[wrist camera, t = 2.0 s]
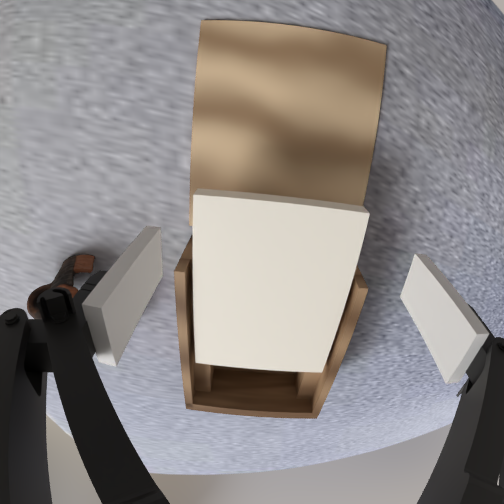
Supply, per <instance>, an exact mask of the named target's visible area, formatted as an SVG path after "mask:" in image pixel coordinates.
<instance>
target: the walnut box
mask: <svg viewBox="0 0 504 504" xmlns="http://www.w3.org/2000/svg"><path fill="white" fill-rule="evenodd" d="M174 279H175V297H176V313H177V326H178V338H179V350H180V360H181V370H182V379H183V388H184V396H185V404H186V409H191V410H198V411H205V412H214V413H222V414H232V415H243V416H256V417H273V418H317V417H318V415H319V413H320V411H321V408H322V406H323V404H324V402H325V400H326V398H327V395H328V393H329V391H330V389H331V386H332V384H333V382H334V379H335V377H336V375H337V372H338V370H339V367H340V365H341V363H342V360H343V358H344V355H345V353H346V350H347V347H348V345H349V342H350V340H351V337H352V334H353V332H354V329H355V326H356V324H357V321H358V318H359V315H360V312H361V310H362V307H363V304H364V301H365V298H366V295H367V292H368V287H367V285H366V282H365V280H364V278H363V276H362V274H361V272H360V270H359V268H358V266H356V270H355V273H354V277H353V280H352V284H351V287H350V291H349V294H348V297H347V301H346V304H345V307H344V310H343V313H342V317H341V320H340V323H339V326H338V329H337V332H336V335H335V338H334V341H333V344H332V346H331V349H330V352H329V355H328V358H327V361H326V363H325V366H324V369H323V371H322V373H320V372H292V371H274V370H260V369H248V368H237V367H227V366H218V365H209V364H201V363H196V362H195V341H194V313H193V235H192V236H191V238H190V240H189V242H188V244H187V246H186V248H185V250H184V252H183V254H182V256H181V258H180V260H179V262H178V264H177V266H176V268H175V270H174Z"/></svg>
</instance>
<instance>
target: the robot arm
mask: <svg viewBox="0 0 504 504" xmlns="http://www.w3.org/2000/svg"><path fill="white" fill-rule="evenodd" d="M162 277H163V267H162V248H161V227H151V226H146V227H145V228H144V229H143V230H142V232H141V233H140V234H139V235H138V236H137V237H136V238H135V240H134V241H133V242H132V243H131V244H130V245H129V247H128V248H127V249H126V250H125V251H124V252H123V254H122V255H121V256H120V257H119V258H118V260H117V261H116V262H115V263H114V264H113V266H112V267H111V268H110V269H109V270H108V271H101V270H100V271H98V272H97V273H95V274H93V275H92V276H91V277H90V278H89V279H88V280H87V281H86V282H85V284H84V285H83V286H82V287H81V289H80V290H79V291H78V292H77V293H76V294H75V296H74V297H73V298H72V294H71V292H70V291H69V290H68V289H66V288H63V287H55V288H51V289H48V290H45V291H44V292H43V293H41V294H40V295H39V297H38V298H37V305H38V309H39V311H40V314H41V317H42V319H28V317H27V314H26V312H25V311H24V310H22V309H20V308H13V309H9V310H7V311H5V312H4V313H3V314H2V315H0V504H52V498H51V491H50V482H49V473H48V462H47V446H46V445H47V444H46V389H47V372H53V373H54V377H55V380H56V384H57V388H58V392H59V395H60V399H61V402H62V405H63V408H64V412H65V415H66V418H67V421H68V424H69V427H70V430H71V432H72V435H73V438H74V441H75V443H76V446H77V449H78V451H79V454H80V456H81V459H82V461H83V463H84V466H85V468H86V470H87V473H88V475H89V477H90V479H91V481H92V484H93V486H94V488H95V490H96V492H97V494H98V496H99V498H100V500H101V502H102V504H170V503H169V502H168V500H167V499H166V497H165V496H164V494H163V493H162V492H161V490H160V489H159V488H158V486H157V485H156V483H155V482H154V480H153V479H152V477H151V476H150V474H149V472H148V471H147V469H146V467H145V466H144V464H143V462H142V461H141V459H140V457H139V455H138V454H137V452H136V450H135V448H134V447H133V445H132V443H131V441H130V439H129V437H128V435H127V434H126V432H125V430H124V428H123V426H122V424H121V422H120V420H119V418H118V416H117V414H116V412H115V410H114V408H113V405H112V403H111V401H110V399H109V397H108V395H107V392H106V390H105V388H104V386H103V383H102V381H101V379H100V376H99V374H98V371H97V369H96V366H95V364H94V361H93V359H92V357H93V355H94V353H95V352H96V355H97V358H98V361H99V362H100V363H104V364H108V365H112V366H116V367H117V365H118V362H119V360H120V358H121V356H122V354H123V352H124V350H125V348H126V346H127V344H128V342H129V340H130V338H131V336H132V334H133V332H134V330H135V328H136V326H137V324H138V322H139V320H140V318H141V316H142V314H143V312H144V310H145V308H146V307H147V305H148V303H149V301H150V299H151V297H152V295H153V293H154V291H155V289H156V288H157V286H158V284H159V282H160V280H161V278H162ZM400 298H401V299H402V301H403V303H404V305H405V306H406V308H407V310H408V312H409V313H410V315H411V317H412V319H413V321H414V322H415V324H416V326H417V328H418V330H419V332H420V333H421V335H422V337H423V339H424V341H425V343H426V345H427V347H428V349H429V351H430V353H431V354H432V356H433V358H434V360H435V362H436V364H437V366H438V368H439V370H440V373H441V375H442V377H443V379H444V381H445V383H446V384H451V383H458V382H459V381H460V380H461V378H462V377H463V375H464V374H465V373H467V375H468V377H469V378H468V380H467V381H466V383H465V384H464V385H463V387H462V388H461V390H460V391H459V392H458V394H457V395H456V396H457V397H458V396H459V395H460V394H462V395H461V398H460V402H459V405H458V408H457V411H456V414H455V417H454V420H453V423H452V426H451V429H450V431H449V434H448V437H447V439H446V442H445V444H444V447H443V449H442V452H441V454H440V457H439V459H438V461H437V464H436V466H435V468H434V470H433V473H432V474H431V477H430V479H429V481H428V483H427V485H426V487H425V489H424V491H423V493H422V495H421V497H420V499H419V500H418V502H417V504H504V338H501V337H496V338H495V337H494V336H493V334H492V333H491V332H490V330H489V329H488V327H487V326H486V325H485V323H484V322H483V321H482V319H481V318H480V317H479V316H478V314H477V313H476V311H475V310H474V309H473V308H472V307H471V306H470V305H469V304H467V303H466V302H465V300H464V299H463V298H462V297H461V295H460V294H459V293H458V292H457V290H456V289H455V288H454V287H453V285H452V284H451V283H450V282H449V281H448V279H447V278H446V277H445V276H444V275H443V273H442V272H441V271H440V270H439V269H438V268H437V266H436V265H435V264H434V263H433V262H432V261H431V260H430V258H429V257H428V256H427V255H423V254H415V255H414V258H413V261H412V264H411V267H410V270H409V273H408V276H407V279H406V282H405V284H404V287H403V290H402V293H401V295H400ZM499 473H500V476H499ZM498 477H499V486H498V485H497V481H498Z"/></svg>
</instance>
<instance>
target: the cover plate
mask: <svg viewBox="0 0 504 504" xmlns="http://www.w3.org/2000/svg"><path fill="white" fill-rule="evenodd" d="M369 215H370V213H369V212H368V211H367V210H366V208H365V207H364V206H358V205H351V204H344V203H337V202H329V201H321V200H313V199H305V198H296V197H287V196H278V195H268V194H258V193H248V192H237V191H225V190H212V189H197V190H196V192H195V193H194V194H193V313H194V341H195V362H196V363H201V364H209V365H218V366H227V367H237V368H248V369H260V370H274V371H292V372H320V373H322V371H323V369H324V366H325V363H326V361H327V358H328V355H329V352H330V349H331V346H332V344H333V341H334V338H335V335H336V332H337V329H338V326H339V323H340V320H341V317H342V313H343V310H344V307H345V304H346V301H347V297H348V294H349V291H350V287H351V284H352V280H353V277H354V273H355V270H356V266H357V263H358V259H359V255H360V251H361V247H362V244H363V240H364V236H365V232H366V228H367V223H368V219H369Z"/></svg>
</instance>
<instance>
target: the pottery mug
mask: <svg viewBox="0 0 504 504" xmlns="http://www.w3.org/2000/svg"><path fill="white" fill-rule="evenodd" d="M94 259H95V257H94V256H92V255H77V256H72V257H69V258H68V259H66V260H65V261H64V262H63V264H62V267H61V269H60V270H59V272H58V274H57V275H56V277H55V279H54V281H53V282H52V283H50V284H47V285H44V286H41V287H39V288H37V289H35V290H34V291H33V292H32V293H31V294H30V296H29V298H28V301H27V310H28V312H29V314H30V315H31V316H32V317H33V318H34V319H42V317H41V314H40V311H39V309H38V305H37V298H38V297H39V295H40V294H41V293H43V292H44V291H45V290H48V289H51V288H55V287H63V288H66V289H68V290H69V291H70V292H71V294H72V298H73V297H74V296H75V294H76V293H77V292H78V289H77V288H75V287H73V277H74V274H75V273H80V272H81V273H82V272H87V273H91V272H92V271H93V262H94Z"/></svg>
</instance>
